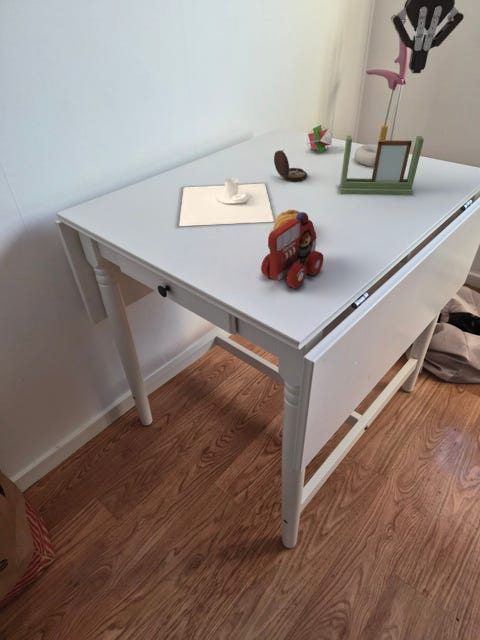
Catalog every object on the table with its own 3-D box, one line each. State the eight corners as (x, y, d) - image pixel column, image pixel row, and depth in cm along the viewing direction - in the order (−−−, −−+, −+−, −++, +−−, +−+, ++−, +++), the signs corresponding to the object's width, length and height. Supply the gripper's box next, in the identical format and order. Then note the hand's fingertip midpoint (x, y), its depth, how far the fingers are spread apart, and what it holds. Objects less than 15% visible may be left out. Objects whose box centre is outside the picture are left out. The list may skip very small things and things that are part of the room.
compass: (311, 178, 106) (313, 148, 101) (284, 185, 103) (285, 154, 98) (294, 168, 111) (296, 139, 107) (268, 174, 109) (268, 144, 104)
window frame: (408, 187, 100) (420, 134, 92) (411, 194, 97) (424, 140, 89) (339, 186, 102) (346, 134, 94) (340, 193, 99) (347, 140, 91)
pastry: (314, 247, 80) (315, 229, 78) (279, 249, 80) (279, 231, 78) (304, 224, 88) (305, 207, 85) (272, 226, 87) (272, 209, 85)
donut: (386, 155, 117) (350, 155, 117) (389, 142, 115) (352, 142, 115) (395, 168, 110) (356, 168, 110) (398, 155, 107) (359, 154, 108)
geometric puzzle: (296, 142, 120) (313, 121, 114) (310, 136, 124) (326, 115, 117) (312, 162, 120) (329, 142, 113) (325, 155, 124) (342, 135, 117)
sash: (401, 184, 98) (414, 125, 90) (402, 186, 97) (415, 127, 89) (370, 184, 99) (380, 125, 91) (371, 186, 98) (381, 127, 90)
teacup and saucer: (251, 206, 95) (250, 188, 92) (215, 207, 95) (214, 190, 92) (248, 190, 101) (248, 173, 99) (215, 191, 101) (214, 174, 99)
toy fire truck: (328, 265, 76) (335, 211, 69) (287, 297, 69) (290, 241, 62) (296, 252, 79) (300, 200, 72) (254, 282, 72) (254, 227, 66)
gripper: (402, -41, 70) (384, 77, 81) (486, -46, 69) (456, 75, 80) (394, -41, 76) (378, 69, 87) (472, -46, 74) (445, 67, 85)
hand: (415, 72), depth 83 cm, fingers closed
